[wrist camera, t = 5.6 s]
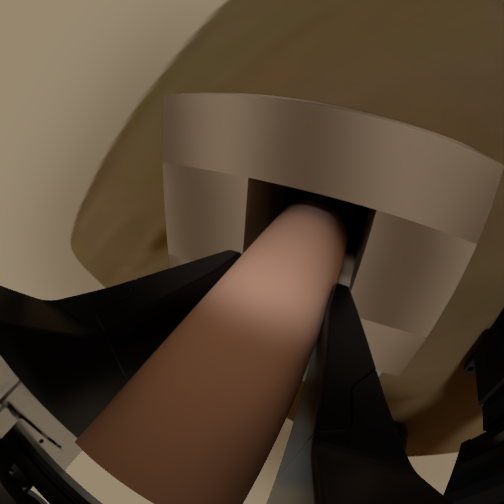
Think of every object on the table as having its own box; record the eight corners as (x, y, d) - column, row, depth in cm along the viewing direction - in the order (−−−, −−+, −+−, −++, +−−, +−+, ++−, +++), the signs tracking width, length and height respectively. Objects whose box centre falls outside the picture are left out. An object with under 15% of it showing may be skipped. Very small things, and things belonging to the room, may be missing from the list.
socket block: (462, 143, 9) (504, 165, 6) (401, 310, 15) (398, 376, 11) (226, 92, 13) (162, 94, 9) (219, 252, 19) (173, 298, 15)
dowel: (355, 213, 10) (222, 538, 2) (337, 279, 11) (224, 532, 4) (278, 192, 11) (48, 416, 3) (270, 258, 12) (109, 467, 4)
